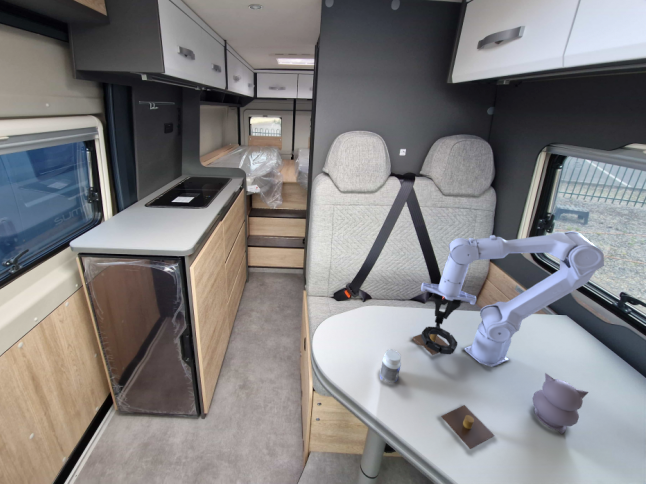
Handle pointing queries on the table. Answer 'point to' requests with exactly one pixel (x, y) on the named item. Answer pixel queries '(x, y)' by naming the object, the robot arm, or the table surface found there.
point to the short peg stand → (467, 426)
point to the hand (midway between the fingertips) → (440, 315)
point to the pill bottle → (390, 366)
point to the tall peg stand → (433, 337)
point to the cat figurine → (558, 403)
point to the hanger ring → (438, 331)
